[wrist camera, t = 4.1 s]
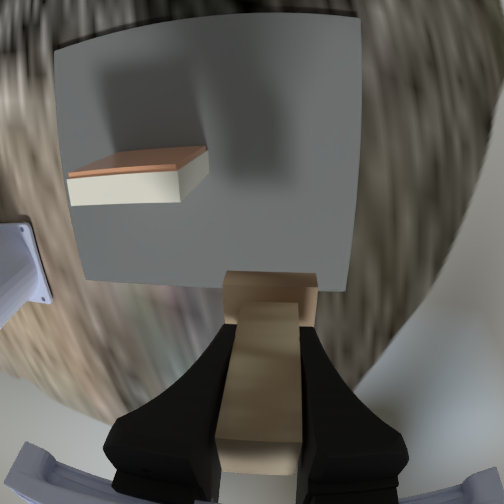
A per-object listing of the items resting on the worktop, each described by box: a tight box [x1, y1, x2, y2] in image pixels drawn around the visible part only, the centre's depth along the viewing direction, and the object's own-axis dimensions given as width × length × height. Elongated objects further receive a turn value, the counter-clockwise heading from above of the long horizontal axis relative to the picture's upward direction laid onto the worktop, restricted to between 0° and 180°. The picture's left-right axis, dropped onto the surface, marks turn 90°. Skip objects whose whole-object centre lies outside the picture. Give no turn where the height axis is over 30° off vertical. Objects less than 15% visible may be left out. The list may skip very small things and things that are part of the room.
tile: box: [67, 146, 209, 206], centre depth 16 cm, size 6×2×6 cm, turn 91°
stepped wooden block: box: [215, 270, 318, 475], centre depth 12 cm, size 4×4×8 cm
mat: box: [54, 13, 362, 291], centre depth 19 cm, size 20×18×1 cm
